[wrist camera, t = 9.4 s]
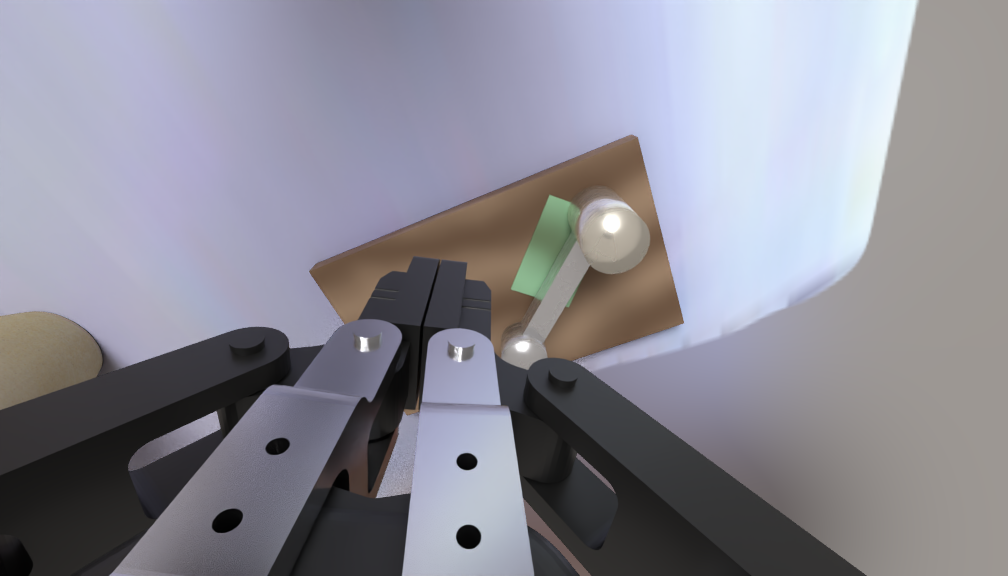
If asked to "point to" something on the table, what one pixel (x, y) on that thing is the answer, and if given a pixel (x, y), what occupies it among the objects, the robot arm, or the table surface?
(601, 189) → the lever
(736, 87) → the table surface
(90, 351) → the plant pot
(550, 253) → the board
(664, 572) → the robot arm
